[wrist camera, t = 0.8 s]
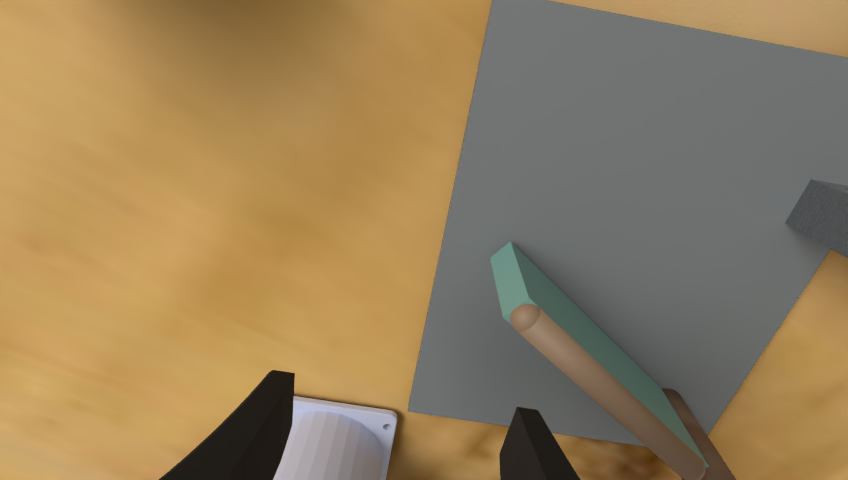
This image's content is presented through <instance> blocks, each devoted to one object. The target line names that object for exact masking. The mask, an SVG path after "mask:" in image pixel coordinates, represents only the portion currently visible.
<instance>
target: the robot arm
mask: <svg viewBox="0 0 848 480" xmlns="http://www.w3.org/2000/svg"><path fill="white" fill-rule="evenodd" d="M294 376H295V373H289V372H283V371H276V370H272V371H271V372H269V373H268V374H267V375H266V377H265V378H264V379H263V380H262V381H261V382H260V384H259V385H258V386H257V387H256V388H255V389H254V390H253V391H252V393H251V394H250V395H249V396H248V397H247V398H246V399H245V400H244V401H243V402H242V403H241V404H240V405H239V406H238V408H237V409H236V410H235V411H234V412H233V413H232V414H231V415H230V416H229V417H228V418H227V419H226V420H225V421H224V422H223V423H222V424H221V425H220V426H219V427H218V428H217V429H216V430H215V431H214V432H212V433H211V434H210V435H209V436H208V437H207V438H206V439H205V440H204V441H203V442H202V443H201V444H199V445H198V446H197V447H196V448H195V449H194V450H193V451H192V452H191V453H190V454H188V455H187V456H186V457H185V458H184V459H183V460H182V461H180V462H179V463H178V464H177V465H176V466H175V467H173V468H172V469H171V470H170V471H169V472H167V473H166V474H165V475H164V476H163V477H161V478H160V479H159V480H386V476H387V470H388V465H389V460H390V455H391V450H392V445H393V440H394V435H395V430H396V424H397V414H396V413H395V412H394V411H391V410H386V409H379V408H372V407H365V406H359V405H352V404H345V403H338V402H331V401H325V400H318V399H311V398H304V397H298V396H294ZM387 424H389V425H387ZM500 475H501V480H580V478H579V477H578V475H577V474H576V472H575V471H574V469H573V468H572V466H571V464H570V463H569V461H568V460H567V458H566V456H565V455H564V453H563V451H562V450H561V448H560V446H559V445H558V443H557V441H556V440H555V438H554V436H553V435H552V433H551V431H550V429H549V428H548V426H547V424H546V423H545V421H544V419H543V417H542V416H541V414H540V412H539V411H538V410H536V409H529V408H522V407H517V408H516V410H515V413H514V416H513V419H512V421H511V424H510V427H509V430H508V433H507V435H506V438H505V441H504V444H503V446H502V449H501V452H500Z"/></svg>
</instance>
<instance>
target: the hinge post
mask: <svg viewBox="0 0 848 480" xmlns="http://www.w3.org/2000/svg"><path fill="white" fill-rule="evenodd" d="M662 390H663V392H664V394H665V395H666V397H667V399H668V400H669V402H670V403H671V405H672V407H673V408H674V410H675V412H676V413H677V415H678V416H679V418H680V420H681V421H682V423H683V425H684V426H685V428H686V429H687V431H688V433H689V434H690V436H691V438H692V439H693V441H694V442H695V444H696V446H697V447H698V449H699V451H700V452H701V454H702V455H703V457H704V459H705V460H706V462H707V464H708V465H709V467H707V468H706V471H705V475H704V477H703V478H702V479H701V480H736V479H735V477H734V476H733V474H732V473H731V471H730V470H729V468H728V467H727V465H726V464H725V462H724V461H723V459H722V458H721V456H720V454H719V453H718V451H717V450H716V448H715V447H714V445H713V444H712V442H711V441H710V439H709V438H708V436H707V435H706V433H705V432H704V430H703V429H702V427H701V426H700V424H699V423H698V421H697V420H696V418H695V416H694V415H693V413H692V412H691V410H690V409H689V407H688V406H687V404H686V403H685V401H684V400H683V398H682V397H681V395H680V394H679V393H678V392H677V391H675V390H673V389H668V388H664V389H662ZM682 480H684V479H683V478H682Z"/></svg>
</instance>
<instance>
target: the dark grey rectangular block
mask: <svg viewBox="0 0 848 480" xmlns="http://www.w3.org/2000/svg"><path fill="white" fill-rule="evenodd" d="M785 223H786V224H788V225H790V226H792V227H793V228H795V229H797V230H799V231H801V232H802V233H804V234H806V235H808V236H809V237H811V238H813V239H815V240H817V241H818V242H820V243H822V244H824V245H826V246H827V247H829V248H831V249H833V250H834V251H836V252H838V253H840V254H842V255H843V256H845V257H847V258H848V186H846V185H840V184H834V183H829V182H823V181H818V180H812V179H811V180H810V181H809V183H808V185H807V186H806V188H805V190H804V191H803V193H802V195H801V197H800V198H799V200H798V202H797V203H796V205H795V207H794V208H793V210H792V212H791V214H790V215H789V217H788V219H787V220H786V222H785Z"/></svg>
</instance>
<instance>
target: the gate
mask: <svg viewBox="0 0 848 480" xmlns="http://www.w3.org/2000/svg"><path fill="white" fill-rule="evenodd" d="M490 260H491V265H492V269H493V274H494V279H495V283H496V288H497V292H498V297H499V302H500V306H501V311H502V315H503V318H504V319H505V320H506V321H508V322H509V323H510V324H511V325H512V326H513V328H514V329H515V330H516V331H517V332H518V333H519V334H520V335H522V336H523V337H524V338H525V339H526V340H527V341H528V342H529V343H531V344H532V345H533V346H534V347H535V348H536V349H537V350H538V351H540V352H541V353H542V354H543V355H544V356H545V357H546V358H547V359H549V360H550V361H551V362H552V363H553V364H554V365H555V366H556V367H558V368H559V369H560V370H561V371H562V372H563V373H564V374H565V375H567V376H568V377H569V378H570V379H571V380H572V381H573V382H574V383H576V384H577V385H578V386H579V387H580V388H581V389H582V390H583V391H585V392H586V393H587V394H588V395H589V396H590V397H591V398H592V399H594V400H595V401H596V402H597V403H598V404H599V405H600V406H601V407H603V408H604V409H605V410H606V411H607V412H608V413H609V414H610V415H611V416H613V417H614V418H615V419H616V420H617V421H618V422H619V423H620V424H622V425H623V426H624V427H625V428H626V429H627V430H628V431H629V432H631V433H632V434H633V435H634V436H635V437H636V438H637V439H638V440H640V441H641V442H642V443H643V444H644V445H645V446H646V447H647V448H649V449H650V450H651V451H652V452H653V453H654V454H655V455H656V456H658V457H659V458H660V459H661V460H662V461H663V462H664V463H665V464H667V465H668V466H669V467H670V468H671V469H672V470H673V471H674V472H676V473H677V474H678V475H679V476H680V477H681V478H683V479H684V480H701V479H702V478H703V477H704V475H705V471H706V468H707V467H709V465H708V464H707V462H706V460H705V459H704V457H703V455H702V454H701V452H700V451H699V449H698V447H697V446H696V444H695V442H694V441H693V439H692V438H691V436H690V434H689V433H688V431H687V429H686V428H685V426H684V425H683V423H682V421H681V420H680V418H679V416H678V415H677V413H676V412H675V410H674V408H673V407H672V405H671V403H670V402H669V400H668V399H667V397H666V395H665V394H664V392H663V390H662V389H661V388H660V387H659V386H658V385H657V384H656V383H655V382H654V381H653V380H652V379H651V378H650V377H649V376H648V375H647V374H646V373H645V372H644V371H643V370H642V369H641V368H640V367H639V366H638V365H637V364H636V363H635V362H634V361H633V360H632V359H631V358H630V357H629V356H628V355H627V354H626V353H625V352H624V351H623V350H621V349H620V348H619V347H618V346H617V345H616V344H615V343H614V342H613V341H612V340H611V339H610V338H609V337H608V336H607V335H606V334H605V333H604V332H603V331H602V330H601V329H600V328H599V327H598V326H597V325H596V324H595V323H594V322H593V321H592V320H591V319H590V318H589V317H588V316H587V315H586V314H585V313H584V312H583V311H582V310H580V309H579V308H578V307H577V306H576V305H575V304H574V303H573V302H572V301H571V300H570V299H569V298H568V297H567V296H566V295H565V294H564V293H563V292H562V291H561V290H560V289H559V288H558V287H557V286H556V285H555V284H554V283H553V282H552V281H551V280H550V279H549V278H548V277H547V276H546V275H545V274H544V273H543V272H542V271H540V270H539V269H538V268H537V267H536V266H535V265H534V264H533V263H532V262H531V261H530V260H529V259H528V258H527V257H526V256H525V255H524V254H523V253H522V252H521V251H520V250H519V249H518V248H517V247H516V246H515V245H514V244H513V243H512V242H511V241H510V242H509V243H507V244H506V245H505V246H504V247H503V248H501V249H500V250H499V251H498V252H496V253H495V254H494V255H493V256H492V257H490Z"/></svg>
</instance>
